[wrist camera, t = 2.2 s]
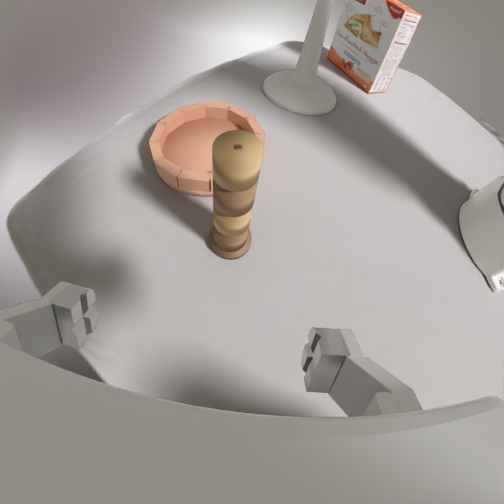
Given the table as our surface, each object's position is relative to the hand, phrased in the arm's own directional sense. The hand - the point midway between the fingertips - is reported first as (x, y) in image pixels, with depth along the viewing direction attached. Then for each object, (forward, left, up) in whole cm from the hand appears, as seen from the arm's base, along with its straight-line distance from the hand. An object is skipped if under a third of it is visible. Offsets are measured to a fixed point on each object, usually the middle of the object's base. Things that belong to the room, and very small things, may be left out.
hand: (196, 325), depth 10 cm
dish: (+5, -24, -18) cm, 31 cm away
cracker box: (-19, -55, -18) cm, 61 cm away
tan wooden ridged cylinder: (0, -12, -18) cm, 22 cm away
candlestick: (-7, -42, -18) cm, 46 cm away
